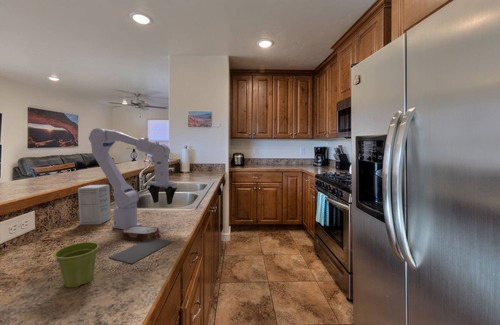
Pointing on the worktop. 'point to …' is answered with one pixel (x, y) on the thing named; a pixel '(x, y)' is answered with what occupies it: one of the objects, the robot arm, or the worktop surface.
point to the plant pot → (77, 263)
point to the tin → (140, 233)
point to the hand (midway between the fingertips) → (162, 203)
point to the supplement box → (94, 204)
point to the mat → (140, 250)
